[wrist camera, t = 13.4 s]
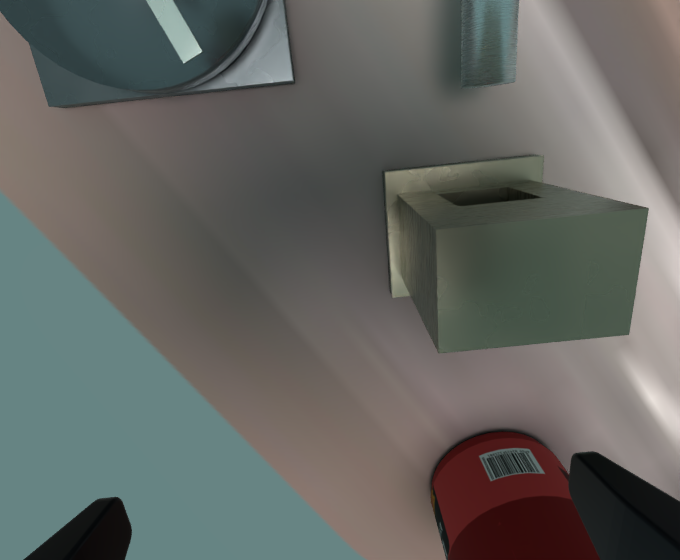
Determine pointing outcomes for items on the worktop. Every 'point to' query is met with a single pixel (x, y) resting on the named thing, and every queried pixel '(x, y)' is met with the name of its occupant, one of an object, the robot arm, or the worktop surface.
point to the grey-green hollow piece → (510, 254)
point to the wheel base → (244, 72)
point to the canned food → (507, 502)
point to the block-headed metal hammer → (488, 42)
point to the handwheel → (138, 38)
